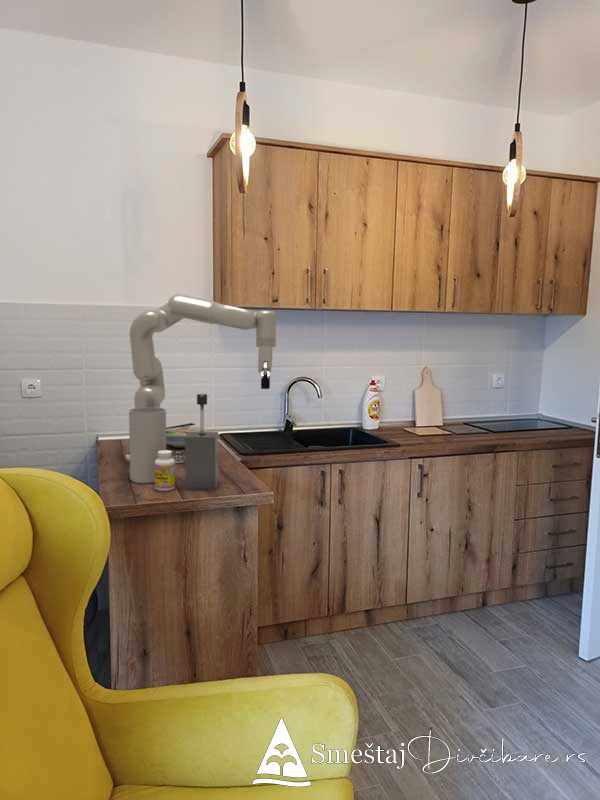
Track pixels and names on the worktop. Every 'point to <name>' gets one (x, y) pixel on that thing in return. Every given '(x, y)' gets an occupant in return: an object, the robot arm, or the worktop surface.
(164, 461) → the supplement bottle
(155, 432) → the cylinder vase
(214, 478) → the tall grey rectangular prism
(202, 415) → the plunger
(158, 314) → the robot arm
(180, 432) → the ramen bowl
